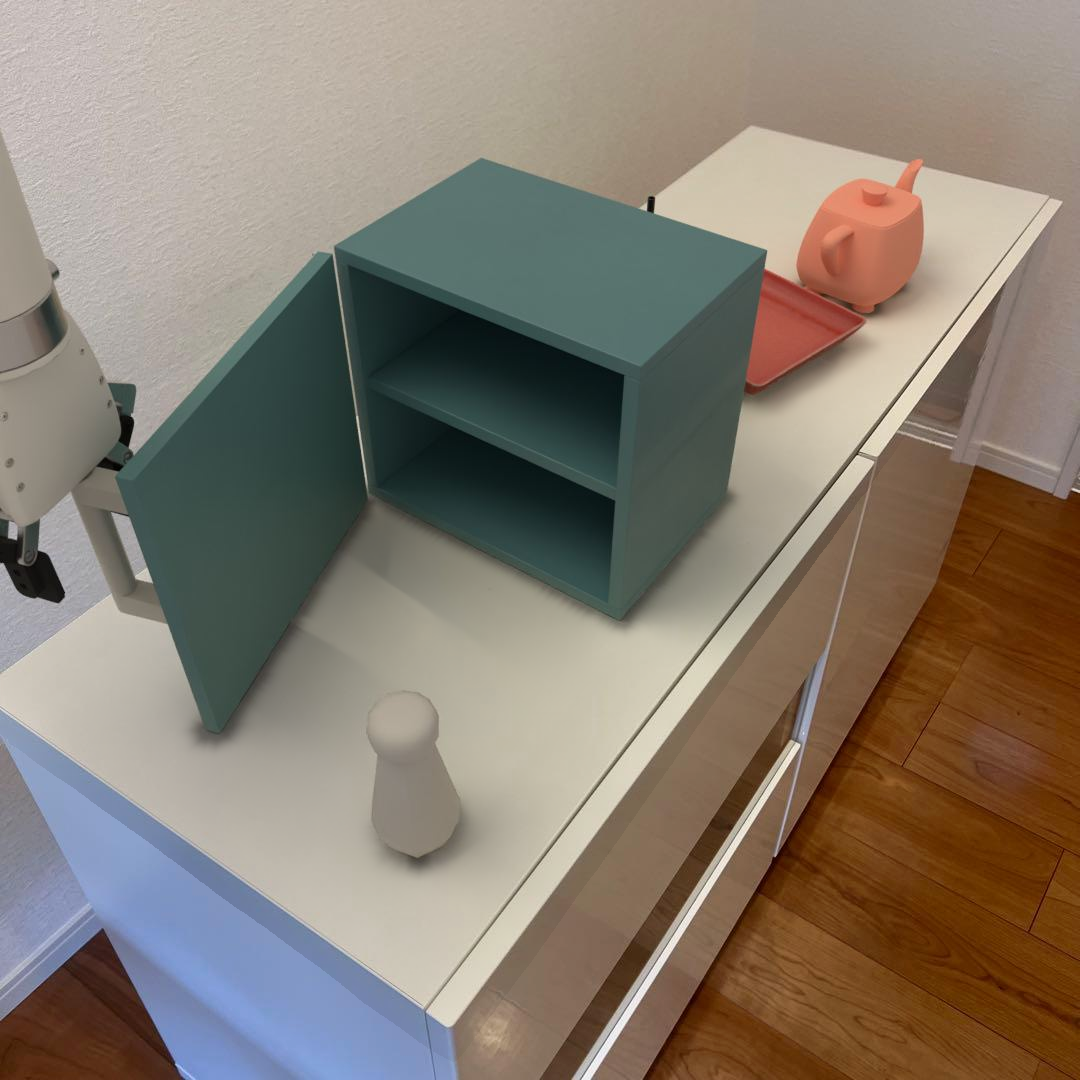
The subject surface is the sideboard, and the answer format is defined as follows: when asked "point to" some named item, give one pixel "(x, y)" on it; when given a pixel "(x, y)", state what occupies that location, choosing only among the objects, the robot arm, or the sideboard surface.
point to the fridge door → (240, 494)
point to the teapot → (864, 241)
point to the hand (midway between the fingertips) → (84, 550)
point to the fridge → (549, 373)
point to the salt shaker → (410, 775)
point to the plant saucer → (793, 330)
